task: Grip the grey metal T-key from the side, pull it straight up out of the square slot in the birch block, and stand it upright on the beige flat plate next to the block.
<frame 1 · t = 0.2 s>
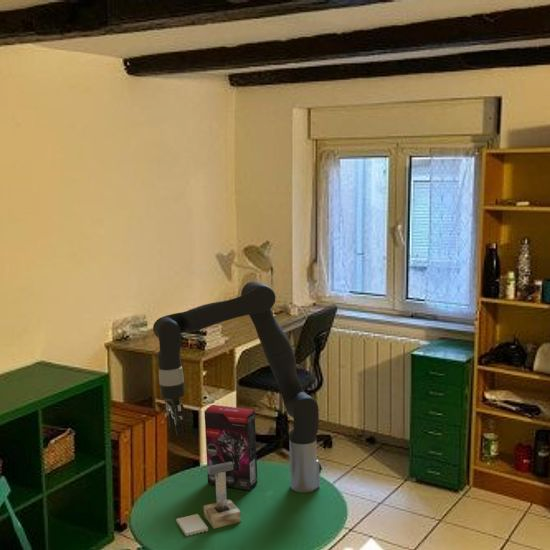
hand: (176, 431, 224), 29 cm above the table, tool pointing down, fingers open, 8 cm apart
graphics card box: (232, 484, 251), on the table
beige flat plate: (192, 526, 222), on the table
t key: (221, 492, 225), in the slot block
slot block: (222, 518, 226), on the table
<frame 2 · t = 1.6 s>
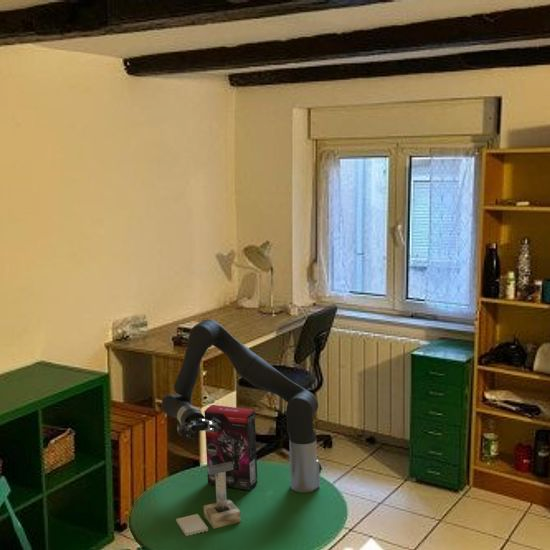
hand: (206, 434, 233), 24 cm above the table, tool horizontal, fingers open, 8 cm apart
nothing on the table moved.
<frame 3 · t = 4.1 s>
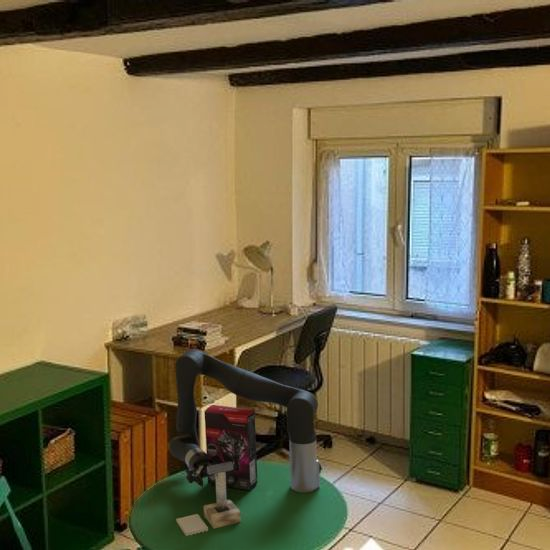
hand: (215, 480, 230), 11 cm above the table, tool horizontal, fingers open, 8 cm apart
nothing on the table moved.
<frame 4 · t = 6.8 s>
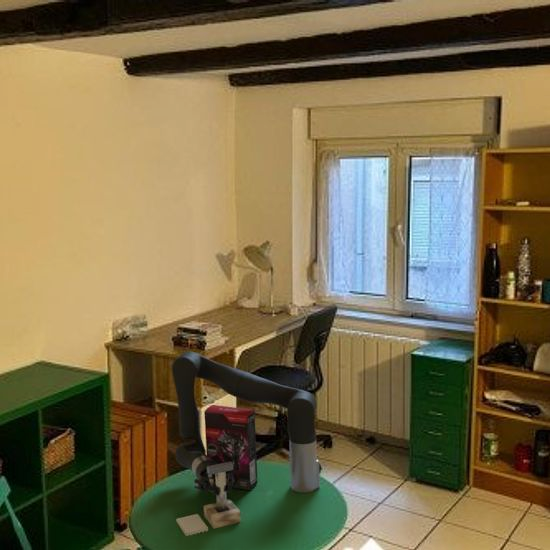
hand: (224, 491, 222), 10 cm above the table, tool horizontal, fingers closed on t key, 3 cm apart
t key: (221, 492, 225), in the slot block, touching gripper
everything else where it was.
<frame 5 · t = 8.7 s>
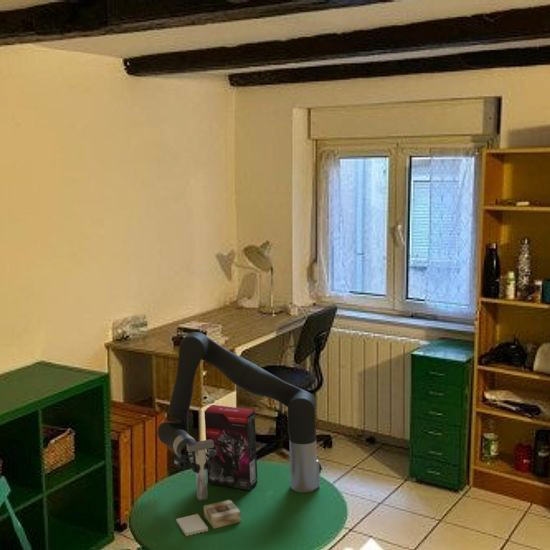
hand: (203, 469, 219), 19 cm above the table, tool horizontal, fingers closed on t key, 3 cm apart
t key: (201, 470, 222), point 17 cm above the table, touching gripper
everything else where it was.
when the fingers open (12 cm above the table, at t = 10.9 s): t key stays where it is, resting on beige flat plate.
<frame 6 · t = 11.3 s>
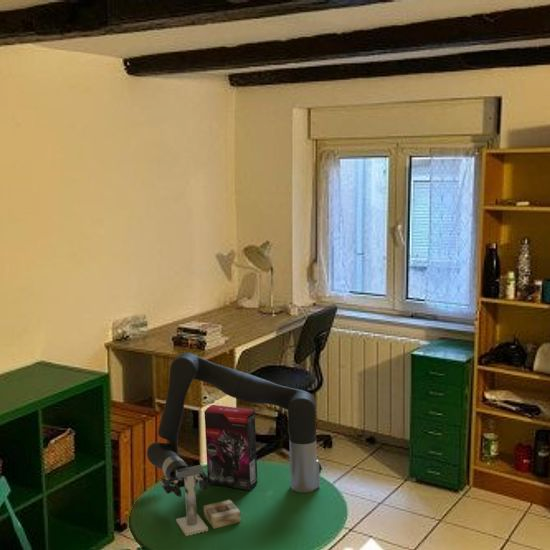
hand: (192, 491, 218), 13 cm above the table, tool horizontal, fingers open, 7 cm apart
t key: (190, 495, 221), on the beige flat plate, point 10 cm above the table
everything else where it was.
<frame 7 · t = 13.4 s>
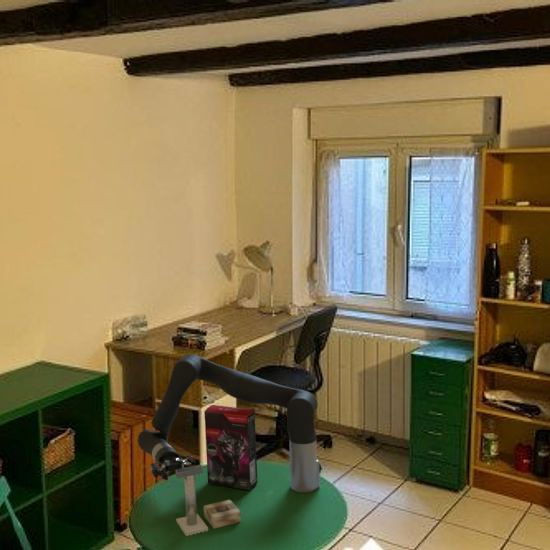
hand: (179, 474, 230), 13 cm above the table, tool horizontal, fingers open, 8 cm apart
nothing on the table moved.
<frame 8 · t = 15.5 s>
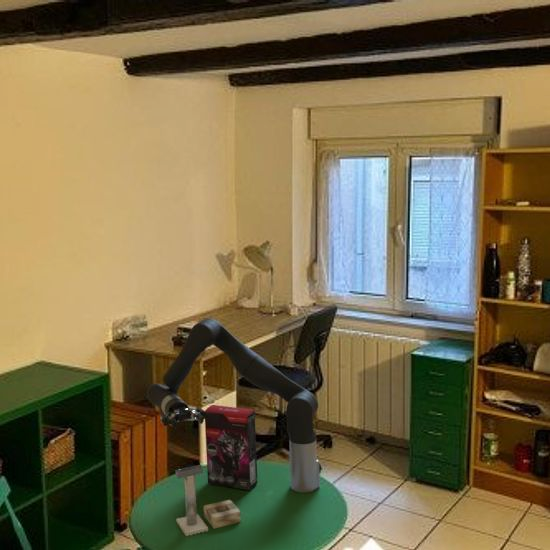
hand: (189, 423, 233), 28 cm above the table, tool horizontal, fingers open, 8 cm apart
nothing on the table moved.
at the end: t key inside the target area (0.1 cm from its centre), point 10.0 cm above the table; t key tilted 0°; the gripper is holding nothing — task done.
